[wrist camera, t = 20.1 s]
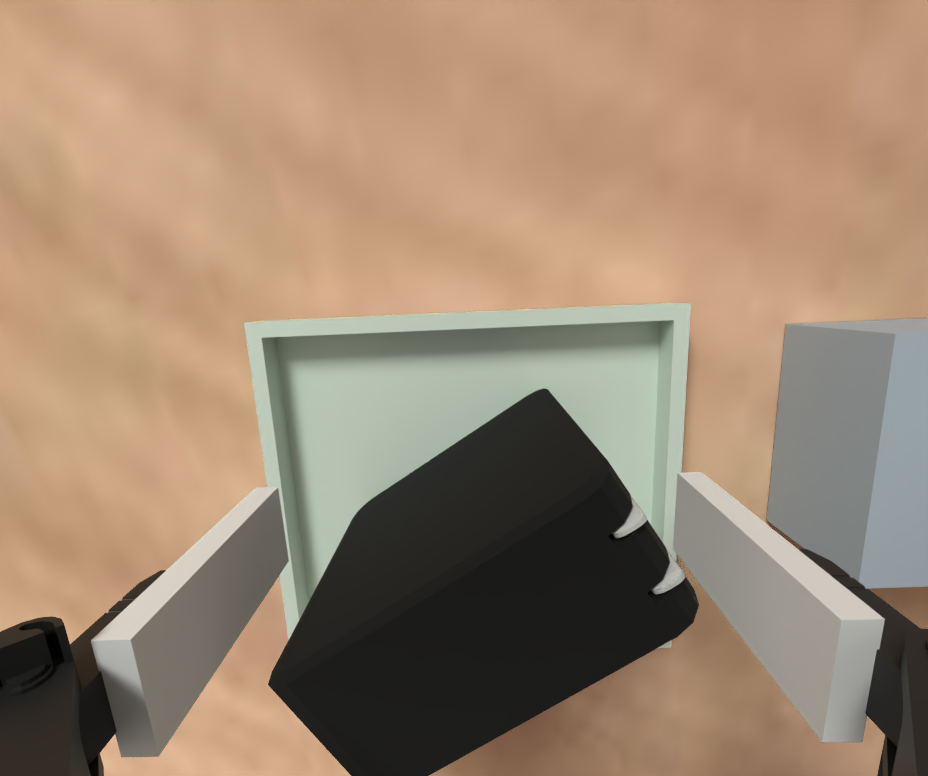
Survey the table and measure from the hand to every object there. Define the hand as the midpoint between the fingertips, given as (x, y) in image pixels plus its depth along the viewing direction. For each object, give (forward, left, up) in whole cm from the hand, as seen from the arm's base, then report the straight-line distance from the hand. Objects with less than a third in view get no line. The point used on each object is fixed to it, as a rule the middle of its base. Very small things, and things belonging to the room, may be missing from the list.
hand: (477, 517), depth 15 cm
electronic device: (+1, 0, -5) cm, 5 cm away
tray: (+1, 0, -6) cm, 6 cm away
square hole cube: (-1, +18, -6) cm, 19 cm away
